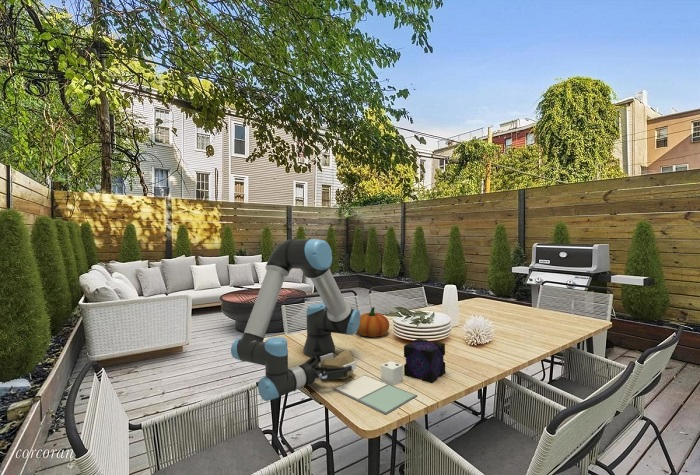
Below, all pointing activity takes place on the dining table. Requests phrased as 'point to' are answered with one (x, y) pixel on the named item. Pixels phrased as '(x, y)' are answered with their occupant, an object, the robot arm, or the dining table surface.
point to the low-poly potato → (339, 362)
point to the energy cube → (424, 360)
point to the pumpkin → (373, 324)
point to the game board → (375, 394)
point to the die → (391, 372)
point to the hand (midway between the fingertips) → (343, 360)
